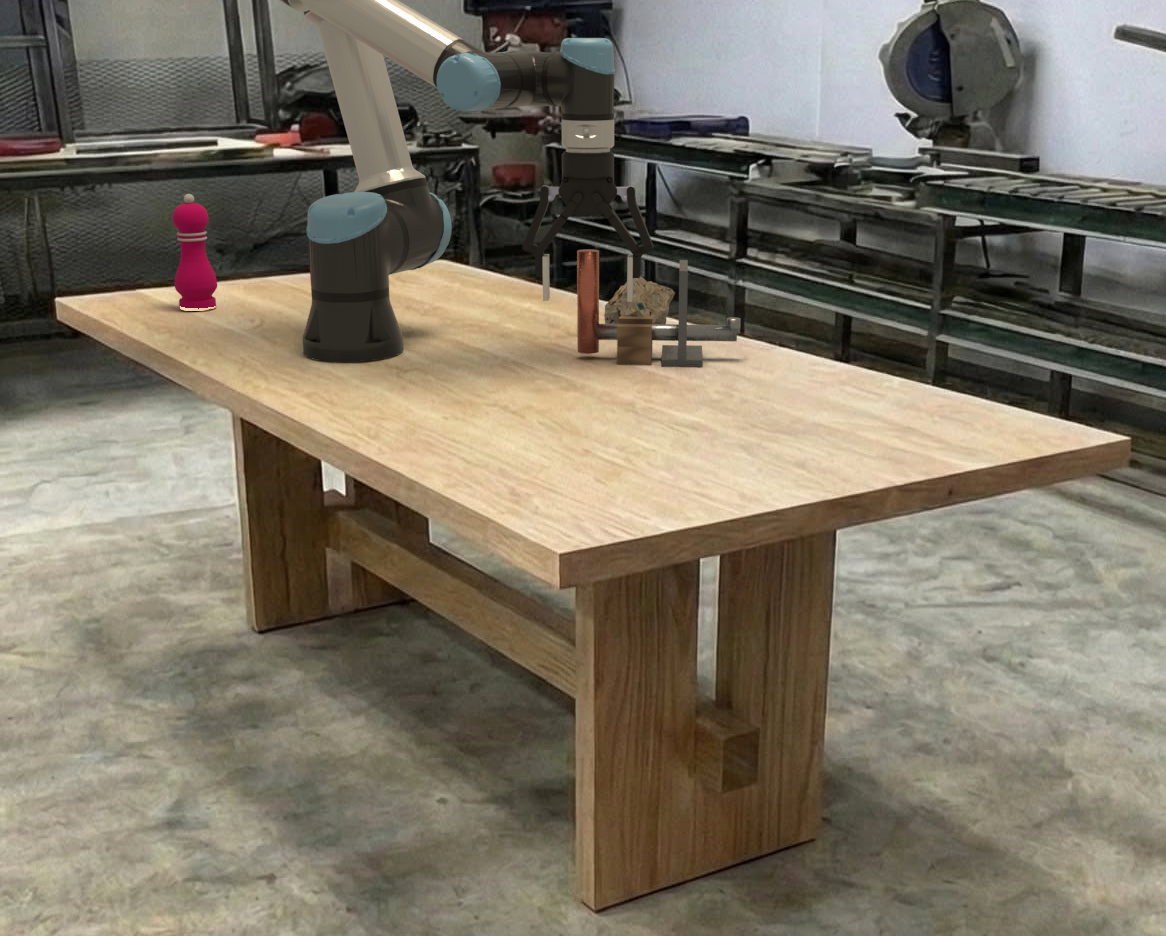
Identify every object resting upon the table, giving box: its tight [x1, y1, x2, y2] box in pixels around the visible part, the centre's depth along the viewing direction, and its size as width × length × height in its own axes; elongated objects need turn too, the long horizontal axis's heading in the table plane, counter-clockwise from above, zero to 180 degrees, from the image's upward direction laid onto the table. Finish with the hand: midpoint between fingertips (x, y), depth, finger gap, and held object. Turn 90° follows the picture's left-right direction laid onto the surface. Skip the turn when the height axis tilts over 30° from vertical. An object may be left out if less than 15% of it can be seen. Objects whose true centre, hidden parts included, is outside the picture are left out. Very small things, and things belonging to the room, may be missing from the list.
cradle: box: [616, 316, 653, 366], centre depth 214 cm, size 5×8×6 cm, turn 176°
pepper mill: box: [172, 193, 218, 309], centre depth 250 cm, size 7×7×20 cm
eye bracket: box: [660, 259, 704, 368], centre depth 212 cm, size 6×10×14 cm, turn 176°
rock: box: [603, 275, 676, 324], centre depth 233 cm, size 12×7×10 cm, turn 120°
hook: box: [576, 248, 741, 355], centre depth 212 cm, size 24×3×15 cm, turn 86°
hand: (588, 299), depth 213 cm, fingers open, 12 cm apart
